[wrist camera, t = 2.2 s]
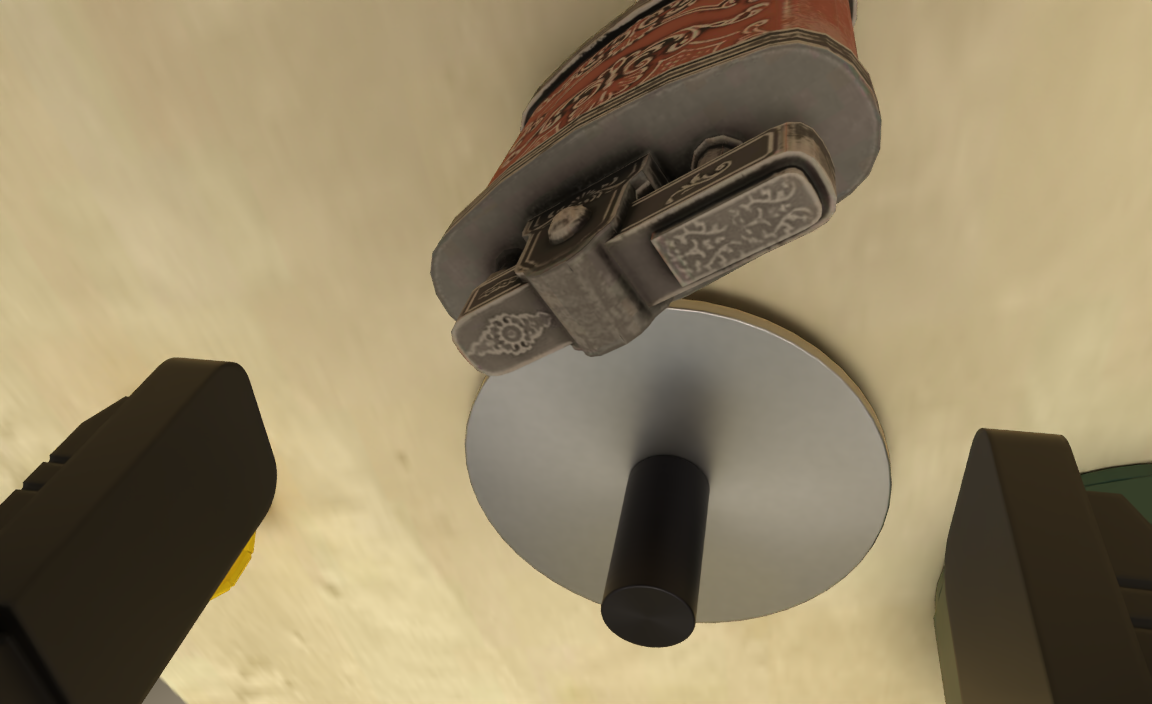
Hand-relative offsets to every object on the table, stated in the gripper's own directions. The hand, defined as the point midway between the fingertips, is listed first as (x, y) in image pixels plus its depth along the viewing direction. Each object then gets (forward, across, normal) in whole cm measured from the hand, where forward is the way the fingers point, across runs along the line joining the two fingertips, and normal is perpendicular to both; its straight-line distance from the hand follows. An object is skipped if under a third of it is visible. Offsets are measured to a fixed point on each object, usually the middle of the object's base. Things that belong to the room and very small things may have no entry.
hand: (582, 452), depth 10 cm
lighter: (+13, 0, 0) cm, 13 cm away
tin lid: (+13, 0, +12) cm, 17 cm away
